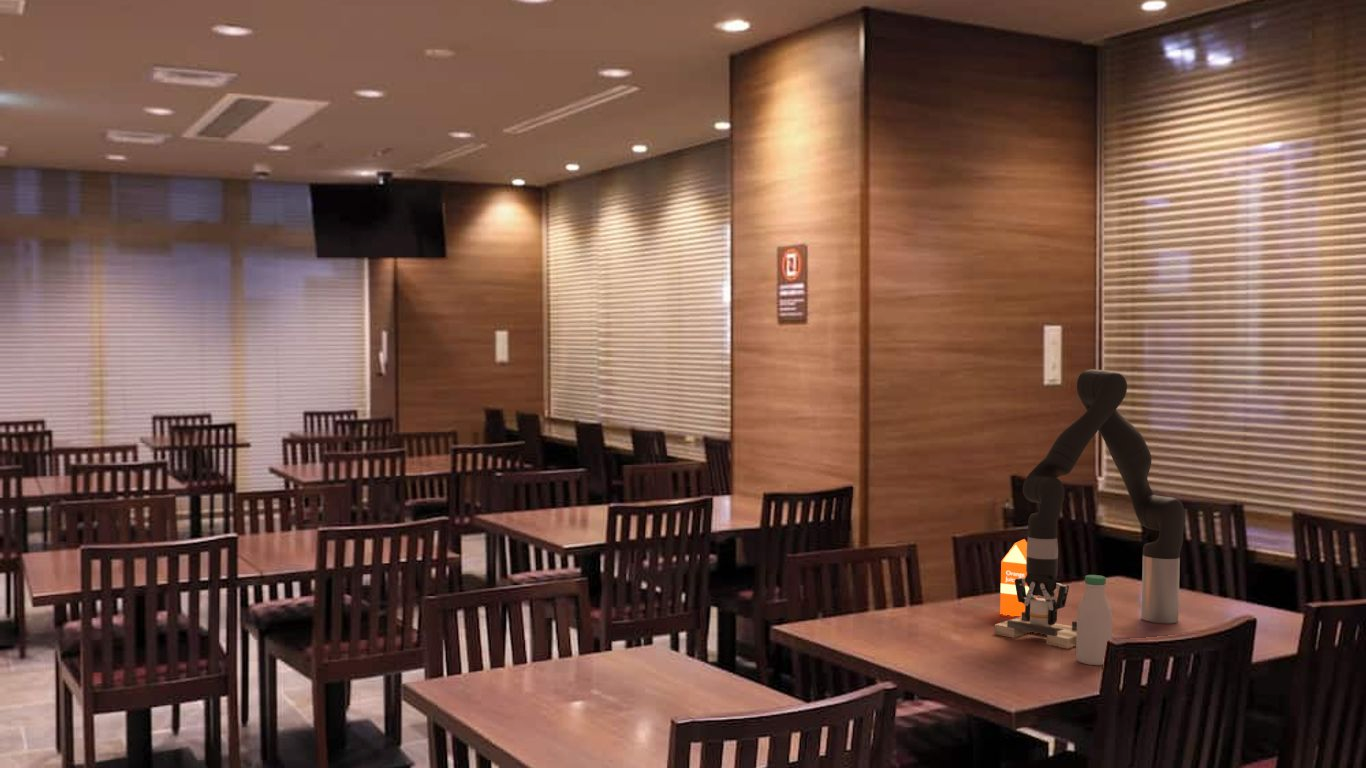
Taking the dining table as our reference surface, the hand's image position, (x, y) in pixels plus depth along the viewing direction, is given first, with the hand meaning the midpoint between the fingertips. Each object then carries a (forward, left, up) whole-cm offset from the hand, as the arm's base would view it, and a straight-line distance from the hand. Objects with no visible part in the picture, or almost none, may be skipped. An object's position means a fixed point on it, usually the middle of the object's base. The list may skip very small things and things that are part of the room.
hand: (1040, 622), depth 304 cm
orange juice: (-21, -18, -4) cm, 28 cm away
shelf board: (-2, 0, -4) cm, 4 cm away
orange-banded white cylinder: (0, 0, -2) cm, 2 cm away
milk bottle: (+12, +20, -4) cm, 24 cm away
